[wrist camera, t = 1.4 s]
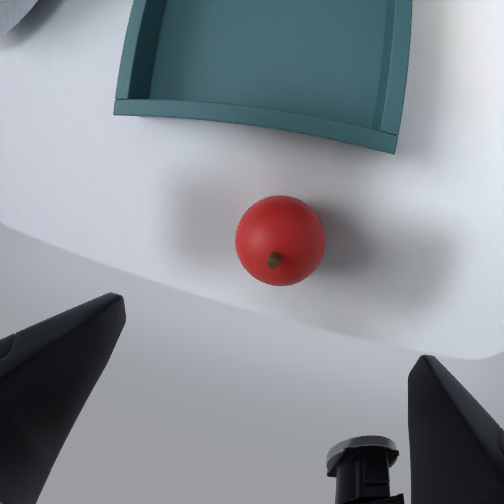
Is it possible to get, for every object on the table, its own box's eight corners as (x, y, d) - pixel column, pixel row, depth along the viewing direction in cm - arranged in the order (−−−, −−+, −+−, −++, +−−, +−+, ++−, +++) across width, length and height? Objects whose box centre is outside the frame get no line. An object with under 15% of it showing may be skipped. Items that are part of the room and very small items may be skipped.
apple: (314, 271, 20) (313, 319, 15) (241, 255, 21) (215, 297, 16) (332, 197, 18) (338, 223, 13) (251, 182, 19) (226, 200, 14)
